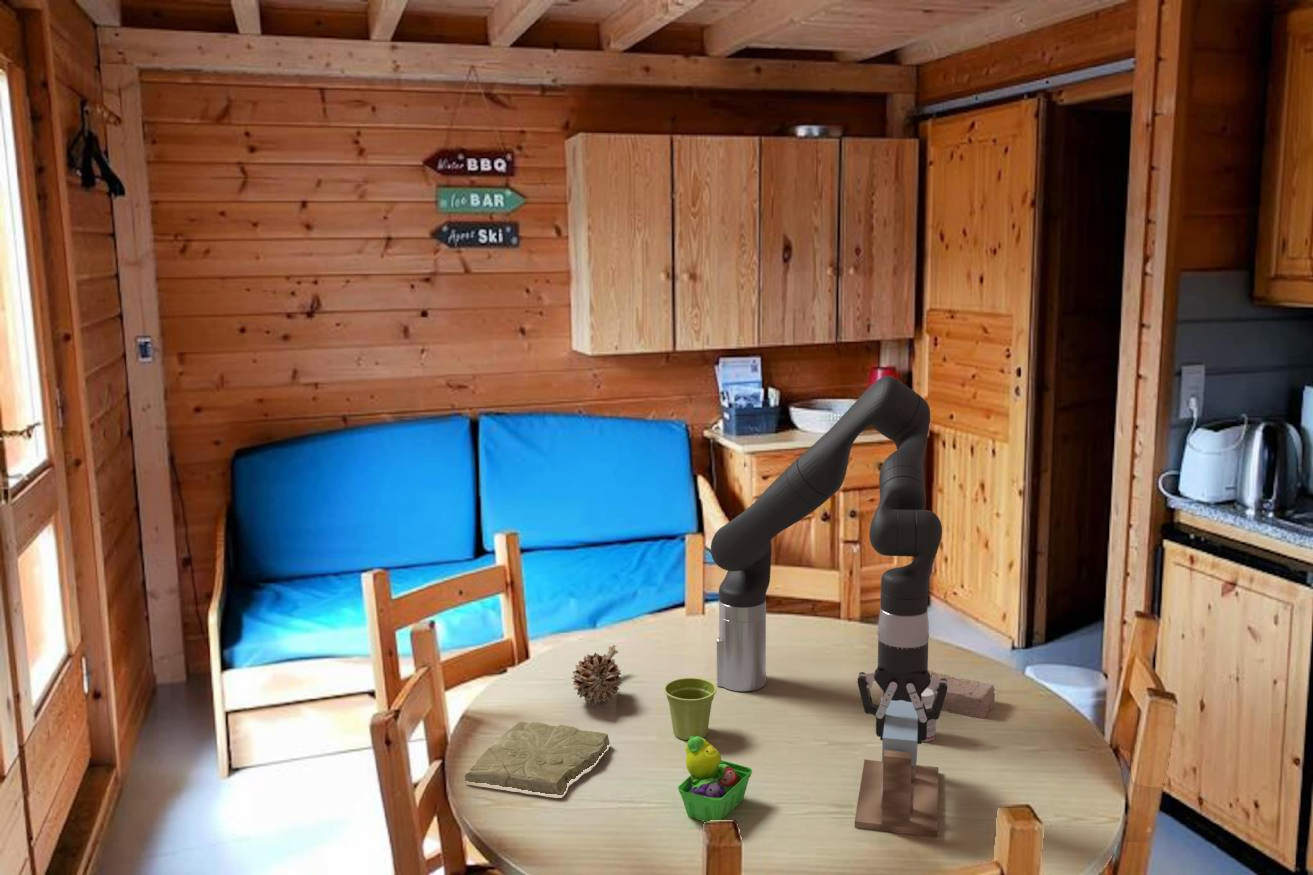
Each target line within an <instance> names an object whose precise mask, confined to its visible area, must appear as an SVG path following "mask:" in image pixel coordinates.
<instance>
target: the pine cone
mask: <svg viewBox="0 0 1313 875" xmlns="http://www.w3.org/2000/svg"><path fill="white" fill-rule="evenodd" d="M616 647H617V645H615V644H613V645H611V646H608V651H607V653H605V654H603V655H600V654H599V653H597V652H596V651H595V652H594V654H592V655H591V654H587V653H586V655H584V657H583V661H582V660H578V664H575V670H573V671H572V673H573V674H572V677H571V680H573V681H572V682H573V683H572V687H573V686H574V687H573V691H574V690H577V693H576V694H577V696H579V697H578V698H579V699H580V698H583V697H584V701H585V702H587V703H588V704H590V703H591V705H592V706H594V705H597V703H598V705H601V702H604V703H607V701H611V699H612V698H611V695H613V696H617V694H618V691H620V688H619V686H621V685H622V677H621V676H620V675H622V673H621V672H622V669H619V666H618V663H616V659H614V658H613V657H615V655H616V654H618V653H619V651H618V650H617V649H616ZM607 699H608V700H607Z"/></svg>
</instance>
